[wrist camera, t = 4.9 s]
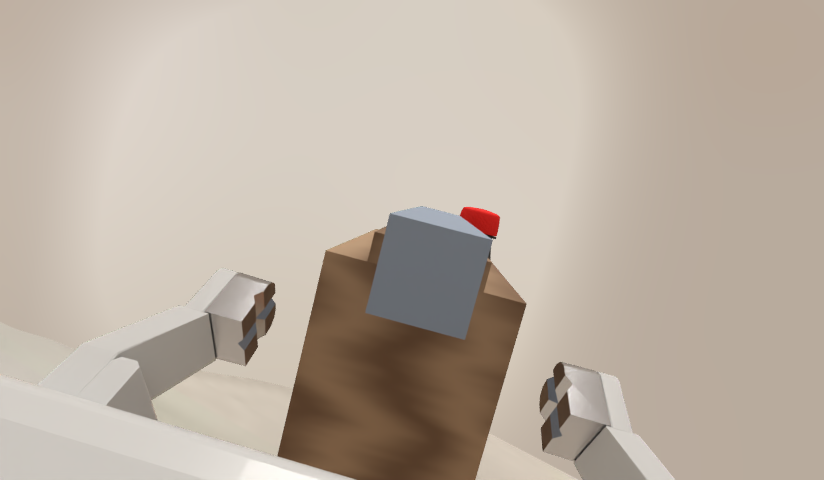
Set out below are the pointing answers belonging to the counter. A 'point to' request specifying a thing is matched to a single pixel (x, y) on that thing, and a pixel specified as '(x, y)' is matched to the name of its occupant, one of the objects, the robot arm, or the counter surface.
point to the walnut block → (396, 379)
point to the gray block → (429, 271)
